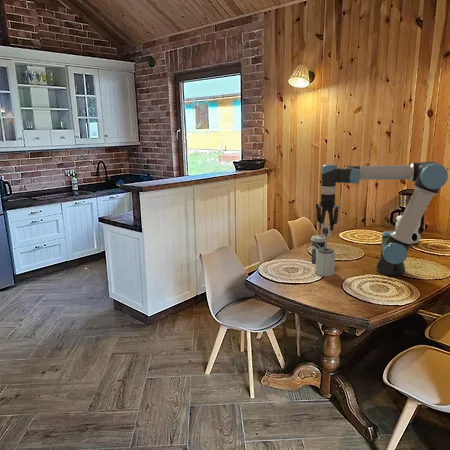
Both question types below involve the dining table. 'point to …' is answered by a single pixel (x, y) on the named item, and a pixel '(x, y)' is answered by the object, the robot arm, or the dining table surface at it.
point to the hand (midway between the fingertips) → (326, 235)
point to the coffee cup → (318, 242)
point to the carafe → (324, 261)
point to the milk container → (416, 234)
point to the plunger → (325, 237)
